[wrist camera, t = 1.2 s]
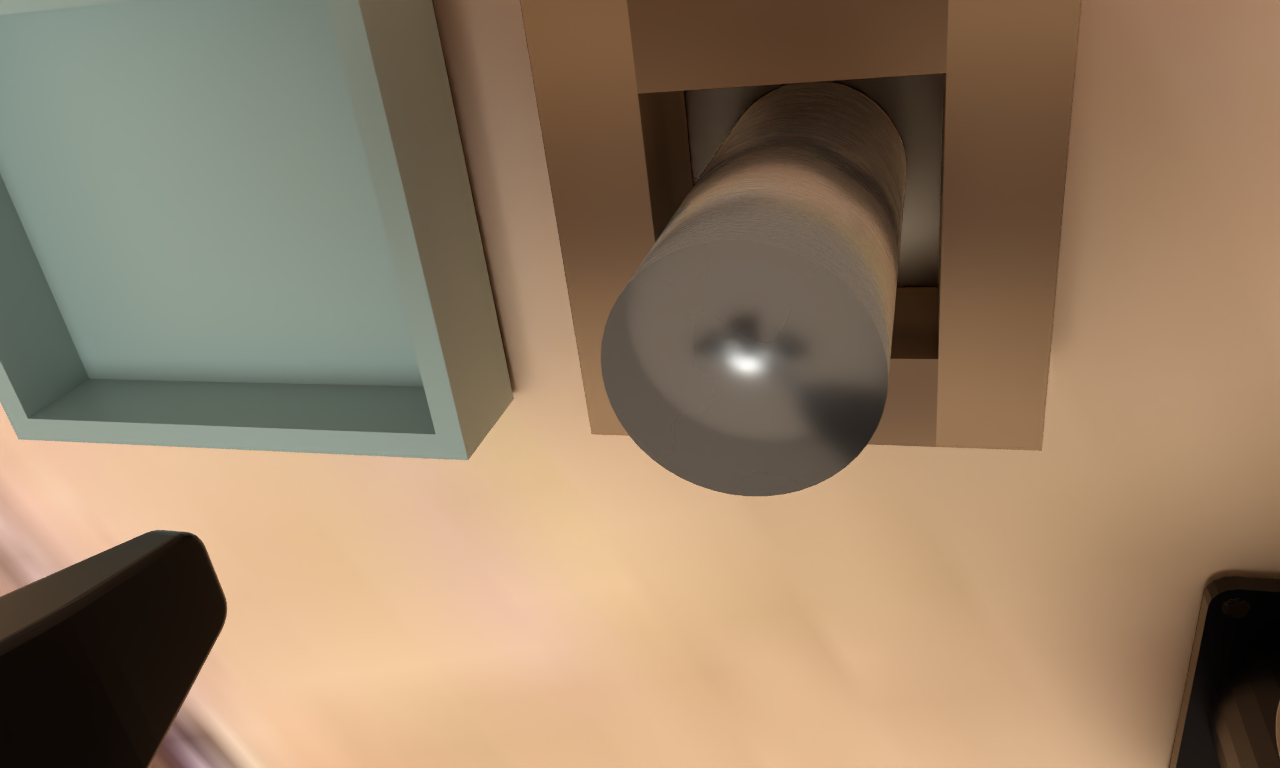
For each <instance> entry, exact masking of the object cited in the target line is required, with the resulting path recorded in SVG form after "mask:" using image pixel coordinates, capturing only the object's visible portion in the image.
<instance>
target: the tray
mask: <svg viewBox="0 0 1280 768" xmlns="http://www.w3.org/2000/svg"><path fill="white" fill-rule="evenodd" d="M513 399H514V398H513V393H512V388H511V383H510V379H509V374H508V369H507V364H506V359H505V354H504V349H503V344H502V340H501V335H500V330H499V325H498V320H497V315H496V310H495V305H494V301H493V296H492V291H491V286H490V281H489V276H488V271H487V266H486V262H485V257H484V252H483V247H482V242H481V237H480V232H479V227H478V223H477V218H476V213H475V208H474V203H473V198H472V193H471V188H470V184H469V179H468V174H467V169H466V164H465V159H464V154H463V149H462V145H461V140H460V135H459V130H458V125H457V120H456V115H455V110H454V106H453V101H452V96H451V91H450V86H449V81H448V76H447V71H446V66H445V62H444V57H443V52H442V47H441V42H440V37H439V32H438V27H437V23H436V18H435V13H434V8H433V3H432V0H0V402H1V404H2V406H3V408H4V410H5V412H6V414H7V416H8V418H9V420H10V422H11V424H12V427H13V429H14V431H15V433H16V435H17V437H18V439H23V440H45V441H66V442H88V443H110V444H131V445H153V446H174V447H196V448H218V449H239V450H261V451H282V452H304V453H326V454H347V455H369V456H390V457H412V458H434V459H455V460H468V459H469V458H470V457H471V455H472V454H473V453H474V451H475V450H476V449H477V447H478V446H479V445H480V443H481V442H482V441H483V439H484V438H485V436H486V435H487V434H488V432H489V431H490V430H491V428H492V427H493V426H494V424H495V423H496V422H497V420H498V419H499V418H500V416H501V415H502V414H503V412H504V411H505V410H506V408H507V407H508V406H509V404H510V403H511V402H512V400H513Z"/></svg>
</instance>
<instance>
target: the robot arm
mask: <svg viewBox="0 0 1280 768" xmlns="http://www.w3.org/2000/svg"><path fill="white" fill-rule="evenodd" d="M1230 599H1241V600H1242V601H1241V602H1240V603H1238V604H1235V605H1226V604H1224V602H1226V601H1228V600H1230ZM226 615H227V602H226V598H225V595H224V592H223V590H222V587H221V585H220V582H219V580H218V577H217V575H216V572H215V570H214V567H213V565H212V562H211V560H210V557H209V555H208V552H207V550H206V547H205V545H204V544H203V542H202V541H201V540H200V539H199V538H198V537H197V536H196V535H194V534H191V533H188V532H178V531H166V530H156V531H151V532H148V533H145V534H143V535H140V536H138V537H136V538H134V539H131V540H129V541H127V542H125V543H122V544H120V545H118V546H115V547H113V548H111V549H109V550H106V551H104V552H102V553H99V554H97V555H95V556H93V557H90V558H88V559H86V560H83V561H81V562H79V563H77V564H74V565H72V566H70V567H67V568H65V569H63V570H61V571H58V572H56V573H54V574H51V575H49V576H47V577H45V578H42V579H40V580H38V581H35V582H33V583H31V584H29V585H26V586H24V587H22V588H19V589H17V590H15V591H13V592H10V593H8V594H6V595H3V596H1V597H0V768H149V766H150V764H151V762H152V761H153V759H154V757H155V755H156V753H157V752H158V750H159V748H160V746H161V744H162V742H163V740H164V739H165V737H166V735H167V733H168V731H169V729H170V727H171V725H172V723H173V721H174V720H175V718H176V716H177V714H178V712H179V710H180V708H181V706H182V704H183V703H184V701H185V699H186V697H187V695H188V693H189V691H190V689H191V687H192V685H193V684H194V682H195V680H196V678H197V676H198V674H199V672H200V670H201V668H202V666H203V665H204V663H205V661H206V659H207V657H208V655H209V653H210V651H211V649H212V647H213V646H214V644H215V642H216V640H217V638H218V636H219V634H220V632H221V630H222V628H223V626H224V623H225V620H226ZM1170 768H1280V579H1265V578H1250V577H1235V576H1234V577H1223V578H1220V579H1218V580H1215V581H1213V582H1212V583H1211V584H1209V585H1208V586H1207V587H1206V589H1205V591H1204V594H1203V599H1202V604H1201V609H1200V614H1199V619H1198V624H1197V629H1196V635H1195V640H1194V645H1193V650H1192V655H1191V660H1190V665H1189V670H1188V675H1187V681H1186V686H1185V691H1184V696H1183V701H1182V706H1181V711H1180V716H1179V722H1178V727H1177V732H1176V737H1175V742H1174V747H1173V752H1172V757H1171V763H1170Z"/></svg>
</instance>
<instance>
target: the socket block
mask: <svg viewBox="0 0 1280 768" xmlns="http://www.w3.org/2000/svg"><path fill="white" fill-rule="evenodd" d="M520 3H521V10H522V16H523V22H524V28H525V34H526V40H527V46H528V52H529V58H530V64H531V70H532V76H533V82H534V88H535V94H536V100H537V106H538V112H539V118H540V124H541V130H542V137H543V143H544V149H545V155H546V161H547V167H548V173H549V179H550V185H551V191H552V197H553V203H554V209H555V215H556V221H557V227H558V233H559V239H560V245H561V251H562V258H563V264H564V270H565V276H566V282H567V288H568V294H569V300H570V306H571V312H572V318H573V324H574V330H575V336H576V342H577V348H578V354H579V360H580V366H581V372H582V378H583V385H584V391H585V397H586V403H587V409H588V415H589V421H590V427H591V433H592V434H602V435H628V433H627V432H626V430H625V429H624V427H623V426H622V424H621V423H620V421H619V420H618V418H617V416H616V414H615V412H614V410H613V408H612V406H611V404H610V401H609V399H608V396H607V393H606V390H605V386H604V381H603V377H602V369H601V342H602V338H603V333H604V328H605V325H606V322H607V319H608V316H609V314H610V311H611V309H612V307H613V306H614V304H615V302H616V300H617V298H618V297H619V295H620V294H621V292H622V291H623V289H624V288H625V286H626V285H627V283H628V282H629V280H630V279H631V277H632V276H633V275H634V273H635V272H636V270H637V269H638V267H639V266H640V264H641V263H642V261H643V260H644V258H645V257H646V255H647V254H648V252H649V251H650V250H651V248H652V247H653V245H654V244H655V242H656V241H657V239H658V238H659V236H660V235H661V233H662V232H663V230H664V229H665V227H666V226H667V225H668V223H669V222H670V220H671V219H672V217H673V216H674V214H675V213H676V211H677V210H678V208H679V207H680V205H681V204H682V203H683V201H684V200H685V198H686V197H687V195H688V194H689V192H690V191H691V189H692V188H693V185H692V174H691V164H690V153H689V143H688V132H687V122H686V111H685V101H684V90H699V89H714V88H729V87H744V86H759V85H774V84H789V83H804V82H819V81H834V80H849V79H864V78H879V77H894V76H909V75H924V74H939V73H944V87H943V124H942V162H941V199H940V236H939V274H938V287H918V288H896V299H895V311H894V322H893V333H892V345H891V356H890V368H889V379H888V390H887V399H886V403H885V407H884V411H883V415H882V417H881V420H880V422H879V424H878V427H877V429H876V431H875V433H874V434H873V436H872V438H871V439H870V441H869V443H868V444H875V445H903V446H930V447H957V448H985V449H1012V450H1039V451H1042V441H1043V430H1044V418H1045V407H1046V396H1047V384H1048V373H1049V361H1050V350H1051V339H1052V327H1053V316H1054V305H1055V293H1056V282H1057V270H1058V259H1059V248H1060V236H1061V225H1062V214H1063V202H1064V191H1065V179H1066V168H1067V157H1068V145H1069V134H1070V122H1071V111H1072V100H1073V88H1074V77H1075V66H1076V54H1077V43H1078V31H1079V20H1080V9H1081V0H520Z"/></svg>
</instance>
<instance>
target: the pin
mask: <svg viewBox="0 0 1280 768" xmlns="http://www.w3.org/2000/svg"><path fill="white" fill-rule="evenodd" d="M906 173H907V166H906V156H905V151H904V146H903V143H902V140H901V137H900V135H899V133H898V131H897V129H896V127H895V125H894V123H893V122H892V121H891V119H890V118H889V116H888V115H887V114H886V113H885V112H884V110H883V109H882V108H881V107H880V106H879V105H878V104H876V103H875V102H874V101H873V100H871V99H870V98H869V97H867V96H866V95H864V94H862V93H861V92H859V91H857V90H855V89H852V88H850V87H848V86H845V85H841V84H838V83H834V82H826V81H819V82H804V83H793V84H789V85H786V86H783V87H780V88H778V89H776V90H773V91H771V92H770V93H768V94H766V95H765V96H763V97H761V98H760V99H759V100H758V101H756V102H755V103H754V104H753V105H752V106H751V107H750V108H749V109H748V110H747V111H746V112H745V113H744V114H743V115H742V116H741V118H740V119H739V120H738V122H737V123H736V125H735V126H734V128H733V129H732V131H731V132H730V133H729V135H728V136H727V138H726V139H725V141H724V142H723V144H722V145H721V147H720V148H719V150H718V151H717V153H716V154H715V155H714V157H713V158H712V160H711V161H710V163H709V164H708V166H707V167H706V169H705V170H704V172H703V173H702V175H701V176H700V178H699V179H698V180H697V182H696V183H695V185H694V186H693V188H692V189H691V191H690V192H689V194H688V195H687V197H686V198H685V200H684V201H683V203H682V204H681V205H680V207H679V208H678V210H677V211H676V213H675V214H674V216H673V217H672V219H671V220H670V222H669V223H668V225H667V226H666V227H665V229H664V230H663V232H662V233H661V235H660V236H659V238H658V239H657V241H656V242H655V244H654V245H653V247H652V248H651V250H650V251H649V252H648V254H647V255H646V257H645V258H644V260H643V261H642V263H641V264H640V266H639V267H638V269H637V270H636V272H635V273H634V275H633V276H632V277H631V279H630V280H629V282H628V283H627V285H626V286H625V288H624V289H623V291H622V292H621V294H620V295H619V297H618V298H617V300H616V302H615V304H614V306H613V307H612V309H611V311H610V314H609V316H608V319H607V322H606V325H605V328H604V333H603V338H602V342H601V369H602V377H603V381H604V386H605V390H606V393H607V396H608V399H609V401H610V404H611V406H612V408H613V410H614V412H615V414H616V416H617V418H618V420H619V421H620V423H621V424H622V426H623V427H624V429H625V430H626V432H627V433H628V435H629V436H630V437H631V438H632V439H633V440H634V441H635V443H636V444H637V445H638V446H639V447H640V448H641V449H642V450H643V451H644V452H645V453H646V454H647V455H649V456H650V457H651V458H652V459H653V460H654V461H656V462H657V463H659V464H660V465H661V466H663V467H664V468H665V469H667V470H669V471H670V472H672V473H674V474H675V475H677V476H679V477H681V478H683V479H685V480H687V481H689V482H692V483H694V484H696V485H699V486H702V487H705V488H708V489H711V490H714V491H718V492H723V493H728V494H733V495H743V496H772V495H780V494H786V493H791V492H795V491H799V490H802V489H805V488H808V487H811V486H813V485H816V484H818V483H820V482H822V481H824V480H826V479H828V478H830V477H832V476H833V475H835V474H836V473H838V472H839V471H841V470H842V469H843V468H845V467H846V466H847V465H848V464H849V463H850V462H852V461H853V460H854V459H855V458H856V457H857V456H858V455H859V454H860V452H861V451H862V450H863V449H864V448H865V446H866V445H867V444H868V443H869V441H870V439H871V438H872V436H873V434H874V433H875V431H876V429H877V427H878V424H879V422H880V420H881V417H882V415H883V411H884V407H885V403H886V399H887V390H888V379H889V368H890V356H891V345H892V333H893V322H894V311H895V299H896V288H897V277H898V265H899V254H900V242H901V231H902V220H903V208H904V197H905V185H906Z"/></svg>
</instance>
